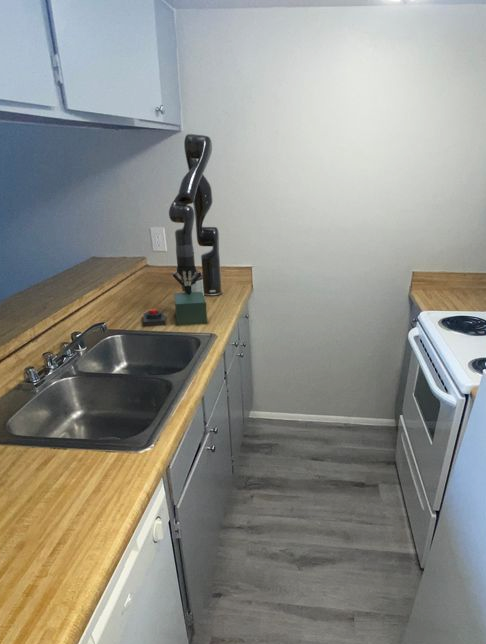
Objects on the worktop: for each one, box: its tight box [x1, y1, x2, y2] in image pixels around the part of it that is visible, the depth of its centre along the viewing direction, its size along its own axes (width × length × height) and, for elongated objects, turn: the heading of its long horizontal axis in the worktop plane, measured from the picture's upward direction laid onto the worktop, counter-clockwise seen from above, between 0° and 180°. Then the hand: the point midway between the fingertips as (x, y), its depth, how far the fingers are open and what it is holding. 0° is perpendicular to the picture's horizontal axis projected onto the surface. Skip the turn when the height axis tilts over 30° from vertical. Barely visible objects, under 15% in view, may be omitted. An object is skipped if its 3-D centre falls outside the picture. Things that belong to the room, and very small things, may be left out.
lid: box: [173, 292, 207, 306], centre depth 207 cm, size 16×13×1 cm
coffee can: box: [180, 273, 205, 297], centre depth 225 cm, size 10×10×14 cm
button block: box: [142, 310, 166, 328], centre depth 207 cm, size 12×9×4 cm
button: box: [148, 308, 159, 314], centre depth 205 cm, size 4×4×2 cm
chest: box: [173, 297, 208, 326], centre depth 209 cm, size 16×13×9 cm
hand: (188, 293), depth 212 cm, fingers closed
